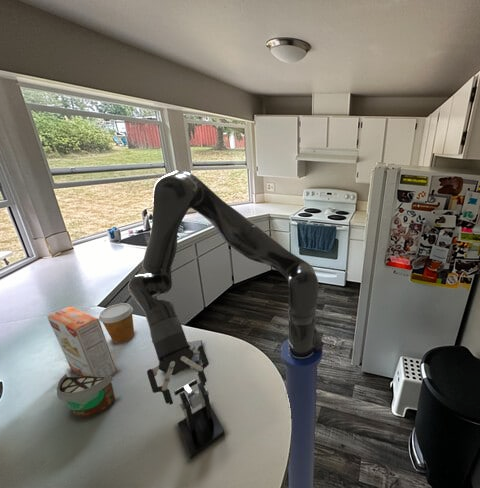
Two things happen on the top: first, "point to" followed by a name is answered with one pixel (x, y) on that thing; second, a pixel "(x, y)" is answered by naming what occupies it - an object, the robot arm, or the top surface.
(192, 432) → the bracket
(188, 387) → the lever
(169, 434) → the top surface
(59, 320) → the cracker box
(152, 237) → the robot arm
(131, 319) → the orange tub white lid
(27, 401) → the top surface
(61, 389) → the food container
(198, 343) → the button box
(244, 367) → the top surface
